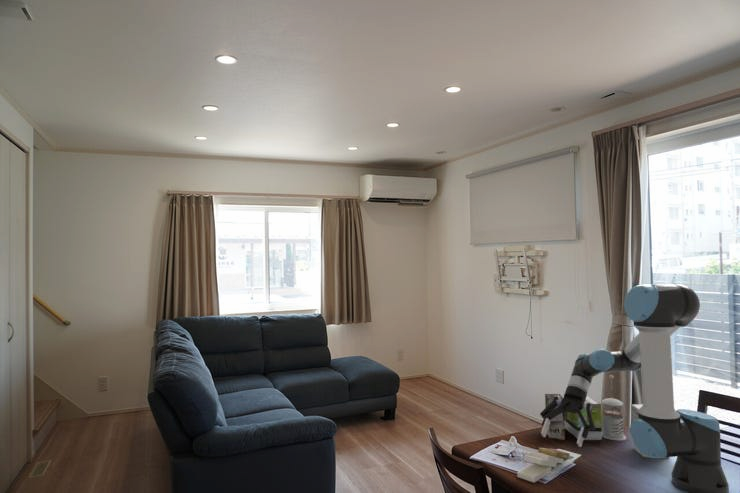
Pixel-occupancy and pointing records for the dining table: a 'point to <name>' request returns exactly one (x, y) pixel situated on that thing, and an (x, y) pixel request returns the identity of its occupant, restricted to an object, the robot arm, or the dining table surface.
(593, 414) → the tea box
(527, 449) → the dining table surface
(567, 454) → the ochre tile
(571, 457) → the mat
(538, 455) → the ivory tile
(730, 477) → the dining table surface
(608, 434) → the french press
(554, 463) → the ivory tile
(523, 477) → the ivory tile
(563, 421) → the coffee box
